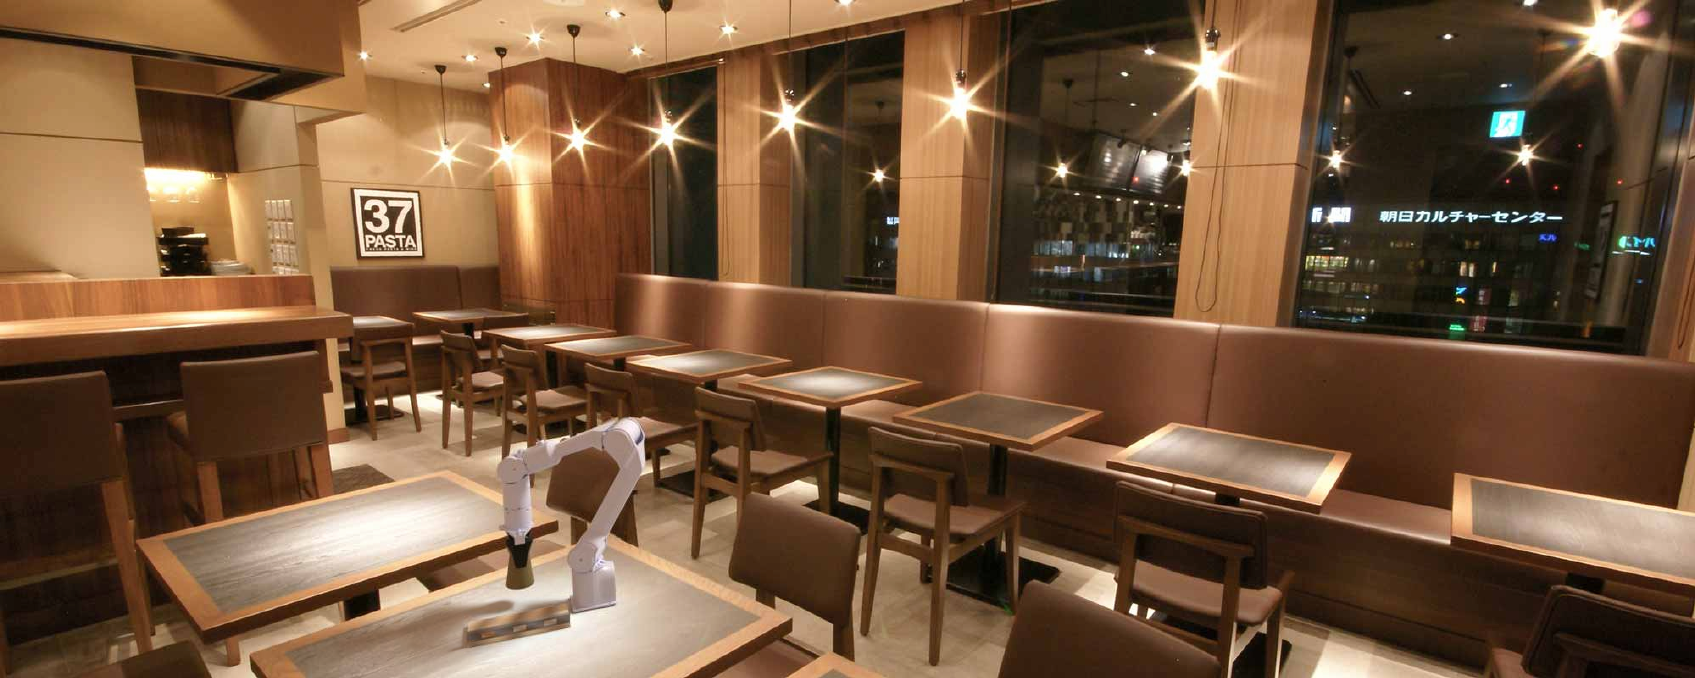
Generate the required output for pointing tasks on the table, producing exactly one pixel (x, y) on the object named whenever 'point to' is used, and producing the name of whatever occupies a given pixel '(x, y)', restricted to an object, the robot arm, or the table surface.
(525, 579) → the cork
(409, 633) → the table surface
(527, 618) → the shelf board
